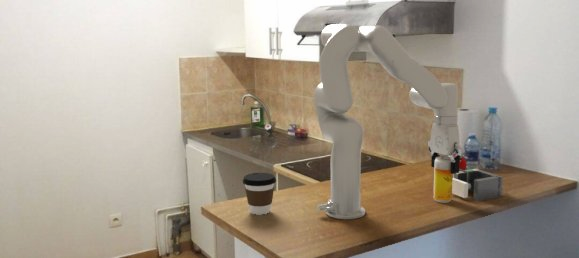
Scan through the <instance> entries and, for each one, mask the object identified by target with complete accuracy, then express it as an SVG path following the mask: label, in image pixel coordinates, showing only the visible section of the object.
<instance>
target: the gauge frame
mask: <svg viewBox="0 0 579 258" xmlns="http://www.w3.org/2000/svg"><path fill="white" fill-rule="evenodd" d="M465 171H468V172H469V173H470V177H469V183H470V184H471V188H470V189H468V192H471V191H473V199H472V200H474V201H476V202H480V201H484V200H485V201H486V200H490V199H496V198H500V197H503V184H504V183H503V182H504V177H503V176H502V175H501V176H500V175H498V174H494V173H493V172H492V173H491V172H489V171H485V170H483V169H478V168H473V169H470V168H469V169H466V170H465ZM454 178H455V179H458V180H461V181H464V182H466V183H467V173H465V172H462V171H459V173H455V174H454Z"/></svg>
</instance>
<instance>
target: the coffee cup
mask: <svg viewBox="0 0 579 258" xmlns="http://www.w3.org/2000/svg"><path fill="white" fill-rule="evenodd" d="M242 183H243V185H244V186H245V187H244V189H245V194H246V199H247V200H246V201H247V204H248V207H249V211H250V213H251V214H252V215H254V214H256V216H263V215H262V214H265V215H268V214H269V213H270V212H271V210H272V209H271V208H272V203H273V199H274V190H275V183H277V178H276V176H275V175H274V174H272V173H269V172H253V173H248V174H245V175H244V176H243V179H242ZM267 213H268V214H267Z"/></svg>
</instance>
